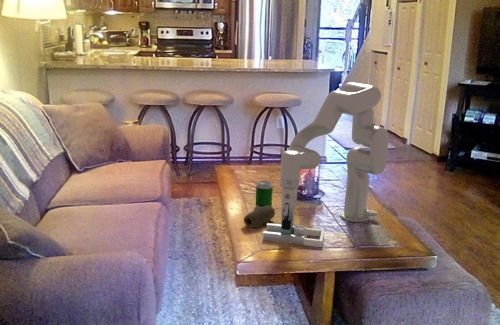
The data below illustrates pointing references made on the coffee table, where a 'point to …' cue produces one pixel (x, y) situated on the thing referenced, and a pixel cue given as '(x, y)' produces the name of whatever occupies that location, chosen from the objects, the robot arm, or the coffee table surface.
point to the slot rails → (281, 235)
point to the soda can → (264, 194)
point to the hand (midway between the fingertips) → (287, 225)
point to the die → (299, 230)
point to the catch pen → (314, 241)
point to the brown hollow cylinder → (259, 216)
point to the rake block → (290, 226)
